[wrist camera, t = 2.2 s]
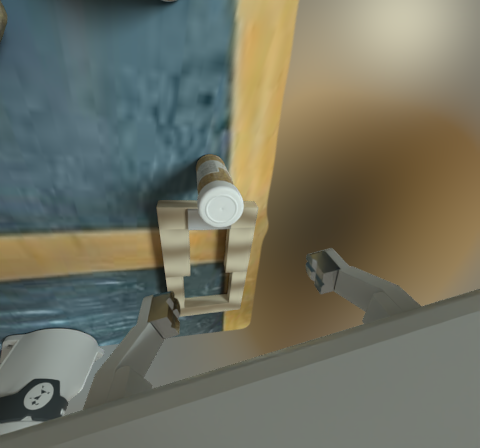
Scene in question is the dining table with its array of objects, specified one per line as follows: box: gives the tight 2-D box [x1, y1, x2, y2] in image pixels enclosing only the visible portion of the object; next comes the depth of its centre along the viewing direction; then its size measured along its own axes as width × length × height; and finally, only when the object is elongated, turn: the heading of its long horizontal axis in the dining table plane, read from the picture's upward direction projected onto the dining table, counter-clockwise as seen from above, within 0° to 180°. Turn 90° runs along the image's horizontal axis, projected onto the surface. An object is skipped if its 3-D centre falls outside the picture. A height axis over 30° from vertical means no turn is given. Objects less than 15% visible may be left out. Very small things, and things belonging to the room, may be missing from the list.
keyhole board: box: [156, 200, 258, 317], centre depth 38 cm, size 28×16×3 cm, turn 174°
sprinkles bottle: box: [196, 154, 244, 227], centre depth 24 cm, size 5×5×13 cm
